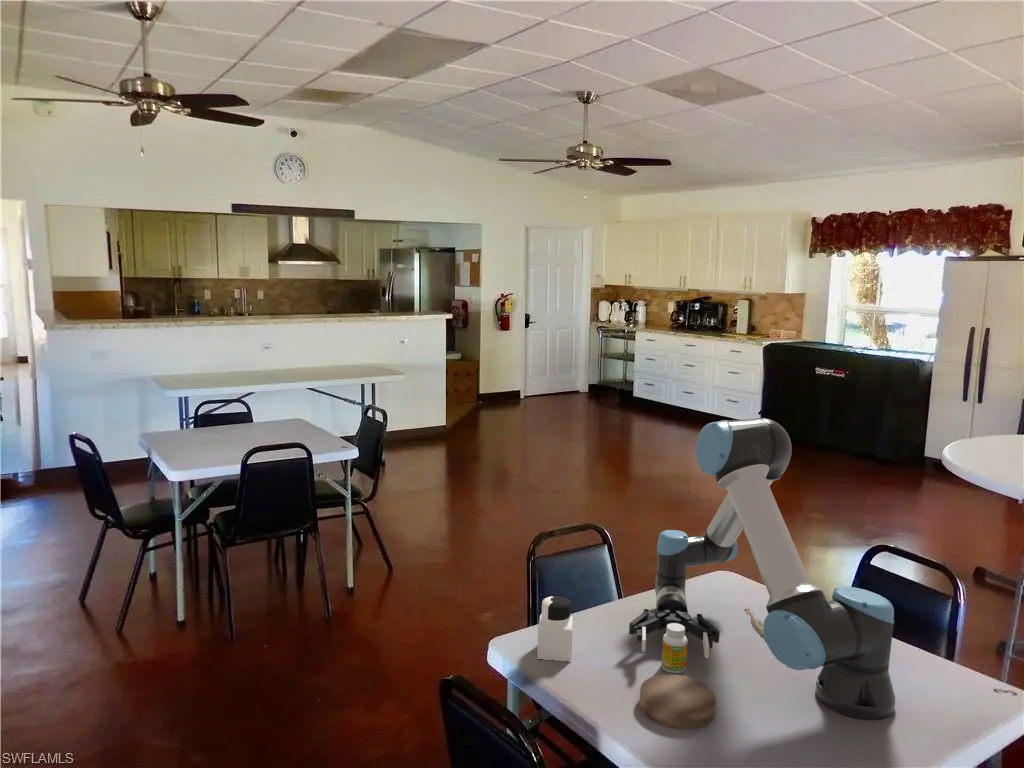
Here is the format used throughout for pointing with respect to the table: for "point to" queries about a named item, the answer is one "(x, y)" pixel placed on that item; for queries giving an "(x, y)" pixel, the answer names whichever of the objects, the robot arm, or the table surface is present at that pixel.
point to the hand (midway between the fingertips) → (675, 648)
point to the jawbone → (756, 624)
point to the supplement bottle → (674, 649)
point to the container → (555, 630)
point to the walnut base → (677, 701)
